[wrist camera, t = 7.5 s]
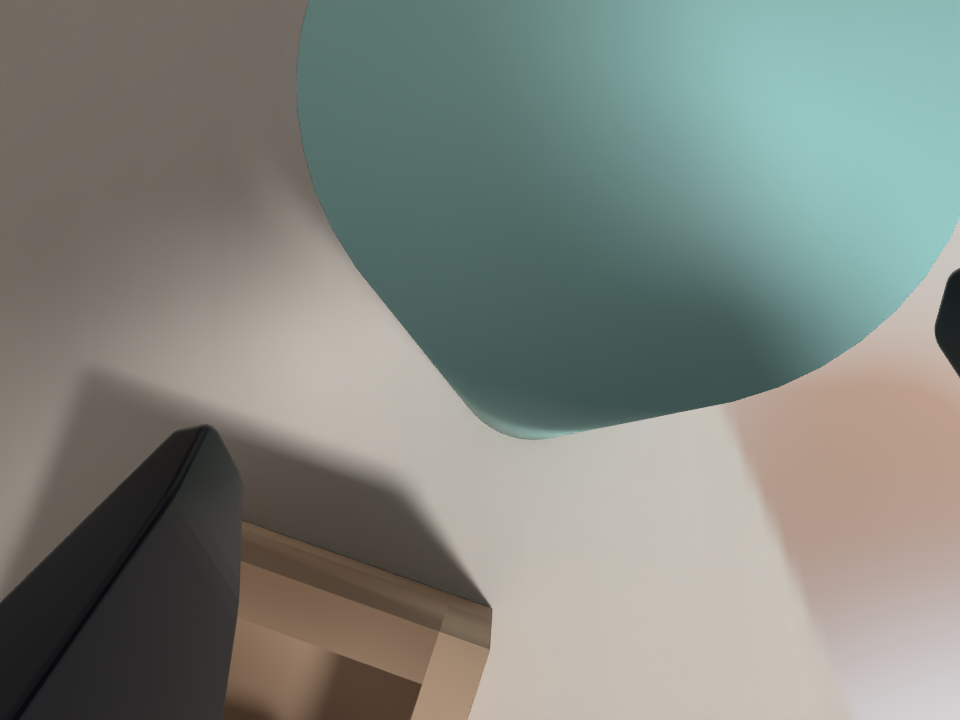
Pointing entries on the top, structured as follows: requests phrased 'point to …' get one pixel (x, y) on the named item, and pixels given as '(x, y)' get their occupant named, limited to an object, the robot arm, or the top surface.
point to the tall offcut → (633, 187)
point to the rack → (347, 639)
